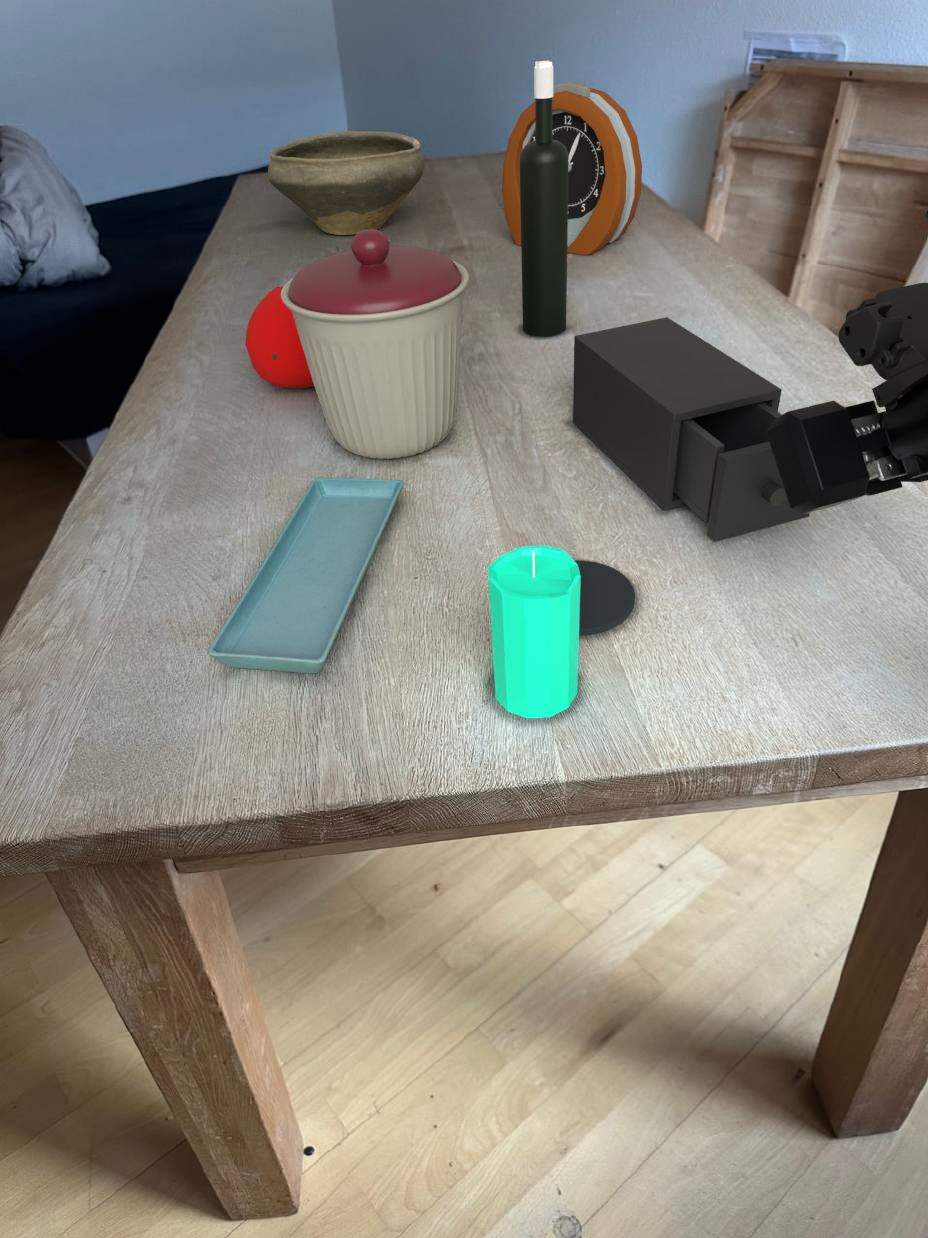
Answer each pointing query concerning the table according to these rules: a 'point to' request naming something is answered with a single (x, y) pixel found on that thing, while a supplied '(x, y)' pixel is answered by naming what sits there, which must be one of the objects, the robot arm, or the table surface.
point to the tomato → (277, 344)
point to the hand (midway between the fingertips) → (832, 472)
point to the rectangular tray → (308, 578)
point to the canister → (382, 343)
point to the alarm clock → (583, 166)
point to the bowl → (347, 177)
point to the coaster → (603, 597)
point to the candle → (535, 630)
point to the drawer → (732, 472)
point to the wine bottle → (544, 218)
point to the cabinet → (654, 396)
